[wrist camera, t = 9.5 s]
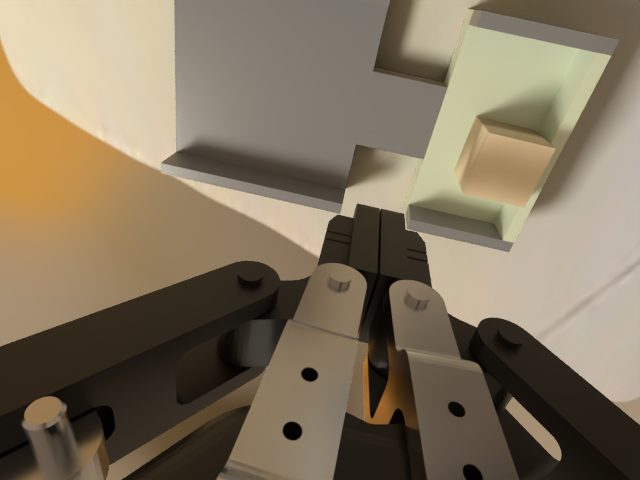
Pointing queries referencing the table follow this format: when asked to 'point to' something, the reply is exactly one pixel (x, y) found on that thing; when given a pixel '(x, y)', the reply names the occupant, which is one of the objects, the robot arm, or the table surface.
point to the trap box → (366, 103)
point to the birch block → (502, 161)
